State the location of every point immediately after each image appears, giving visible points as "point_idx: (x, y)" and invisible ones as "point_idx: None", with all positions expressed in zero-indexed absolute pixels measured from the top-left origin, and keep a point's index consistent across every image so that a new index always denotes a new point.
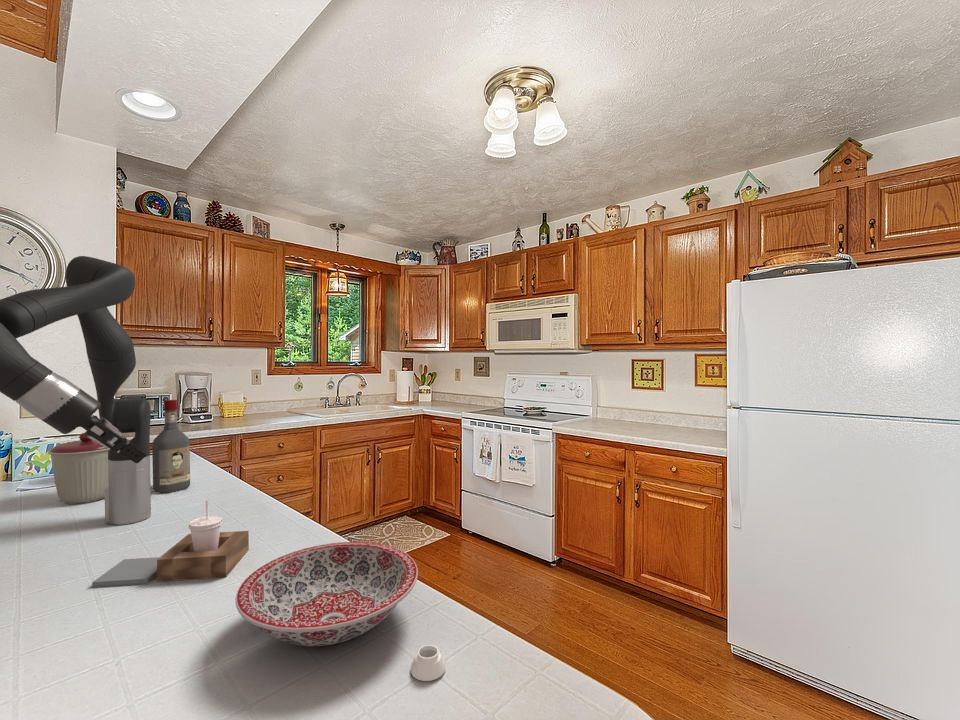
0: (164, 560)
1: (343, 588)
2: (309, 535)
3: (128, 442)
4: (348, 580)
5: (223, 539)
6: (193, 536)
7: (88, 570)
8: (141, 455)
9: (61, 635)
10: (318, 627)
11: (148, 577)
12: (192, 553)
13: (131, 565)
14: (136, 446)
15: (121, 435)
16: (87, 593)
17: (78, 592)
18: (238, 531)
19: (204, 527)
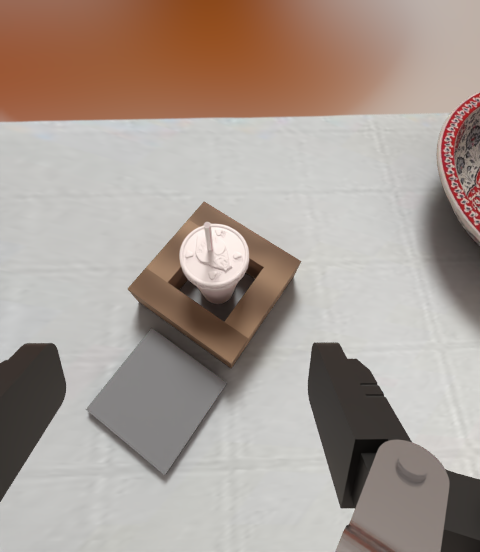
0: (239, 351)
1: (470, 174)
2: (219, 138)
3: (428, 454)
4: (467, 162)
5: None
6: (225, 289)
7: (64, 476)
8: (360, 366)
9: (341, 529)
10: None
11: (222, 380)
12: (248, 304)
13: (135, 400)
14: (40, 358)
15: (358, 532)
16: (190, 482)
17: (171, 498)
18: (192, 215)
19: (247, 264)
